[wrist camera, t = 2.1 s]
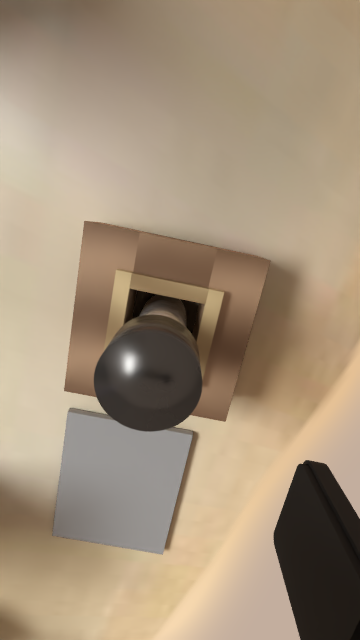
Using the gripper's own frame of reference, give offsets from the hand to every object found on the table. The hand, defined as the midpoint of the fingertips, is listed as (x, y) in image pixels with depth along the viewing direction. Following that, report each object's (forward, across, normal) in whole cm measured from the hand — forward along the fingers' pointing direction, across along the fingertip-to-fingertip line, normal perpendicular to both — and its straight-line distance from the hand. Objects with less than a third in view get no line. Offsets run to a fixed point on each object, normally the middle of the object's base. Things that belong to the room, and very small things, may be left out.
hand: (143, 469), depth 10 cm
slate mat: (+17, +2, +16) cm, 23 cm away
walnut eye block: (+17, +1, -1) cm, 17 cm away
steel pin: (+17, +1, -1) cm, 17 cm away
